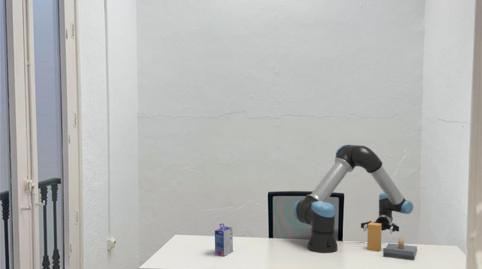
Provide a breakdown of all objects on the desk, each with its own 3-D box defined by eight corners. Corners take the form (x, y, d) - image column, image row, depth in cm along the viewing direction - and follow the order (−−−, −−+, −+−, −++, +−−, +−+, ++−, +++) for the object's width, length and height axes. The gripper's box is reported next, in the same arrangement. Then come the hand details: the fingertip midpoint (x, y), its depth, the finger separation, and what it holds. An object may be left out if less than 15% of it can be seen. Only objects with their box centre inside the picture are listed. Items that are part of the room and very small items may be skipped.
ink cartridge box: (223, 250, 231) (223, 221, 231) (233, 251, 228) (233, 222, 228) (214, 255, 222) (214, 225, 222) (224, 256, 219) (224, 226, 219)
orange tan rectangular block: (367, 249, 236) (367, 224, 235) (369, 247, 241) (369, 222, 241) (379, 251, 233) (379, 225, 233) (381, 248, 238) (381, 223, 238)
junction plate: (383, 256, 224) (383, 242, 223) (388, 247, 242) (388, 233, 242) (413, 260, 218) (414, 245, 218) (416, 250, 236) (417, 236, 236)
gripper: (405, 231, 260) (402, 239, 241) (360, 227, 270) (353, 234, 251) (406, 218, 260) (402, 225, 241) (361, 214, 270) (354, 220, 251)
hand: (377, 230), depth 246 cm, fingers open, 13 cm apart
